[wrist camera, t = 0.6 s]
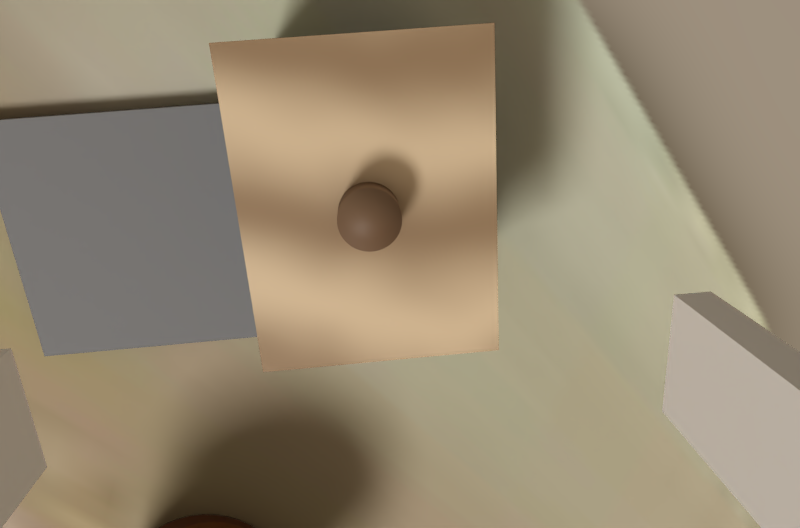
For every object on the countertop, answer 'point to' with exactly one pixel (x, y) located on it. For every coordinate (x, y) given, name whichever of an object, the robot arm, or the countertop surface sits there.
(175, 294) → the mat
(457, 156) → the lid
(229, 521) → the food container
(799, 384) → the robot arm
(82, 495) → the countertop surface
